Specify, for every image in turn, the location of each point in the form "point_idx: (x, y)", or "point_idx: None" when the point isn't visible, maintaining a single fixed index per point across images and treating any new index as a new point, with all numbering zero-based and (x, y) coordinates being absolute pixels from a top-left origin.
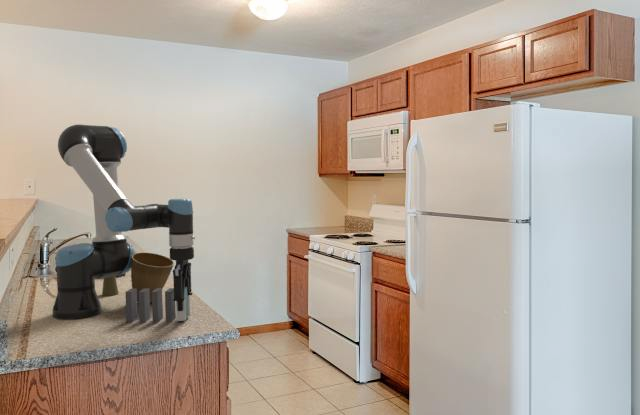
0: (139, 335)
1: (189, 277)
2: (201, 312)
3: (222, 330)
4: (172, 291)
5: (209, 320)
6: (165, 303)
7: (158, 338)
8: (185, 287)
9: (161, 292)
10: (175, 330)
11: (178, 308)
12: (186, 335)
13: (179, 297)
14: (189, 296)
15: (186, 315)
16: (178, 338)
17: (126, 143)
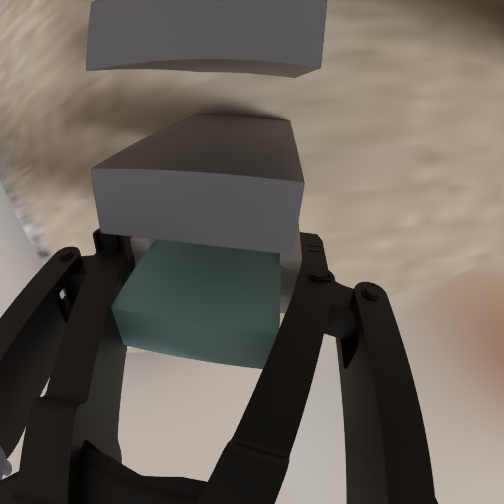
0: (26, 77)
1: (347, 446)
2: (369, 269)
3: None
4: (183, 231)
5: None
6: (150, 137)
7: (11, 162)
8: (234, 360)
9: (281, 66)
10: (81, 196)
11: None
12: (48, 245)
13: (64, 292)
14: (282, 310)
15: None
16: (24, 226)
17: None
